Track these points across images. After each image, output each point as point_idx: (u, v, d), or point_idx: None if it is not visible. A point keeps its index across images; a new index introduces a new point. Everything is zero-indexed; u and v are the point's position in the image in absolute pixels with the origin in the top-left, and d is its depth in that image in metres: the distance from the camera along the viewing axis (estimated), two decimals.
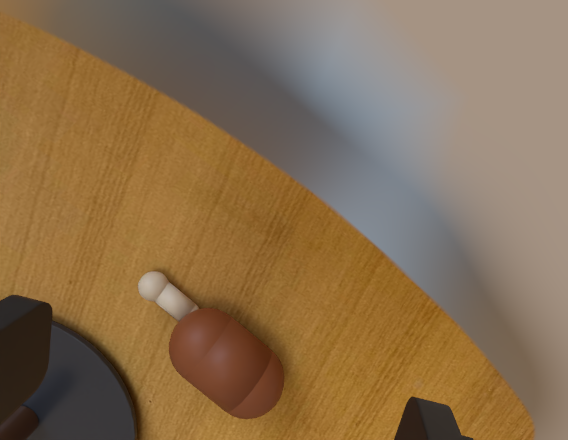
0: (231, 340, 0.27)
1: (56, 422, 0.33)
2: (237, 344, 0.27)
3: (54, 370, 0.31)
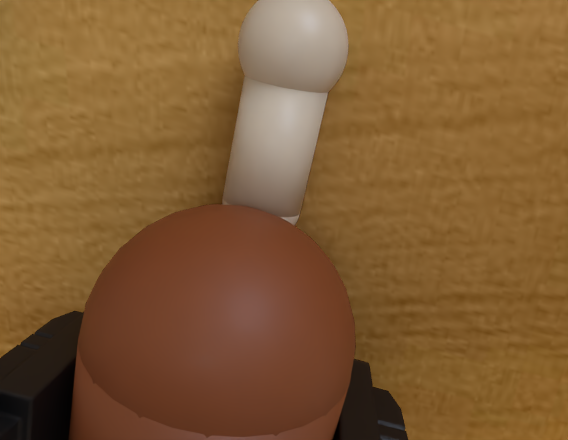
0: None
1: None
2: None
3: None
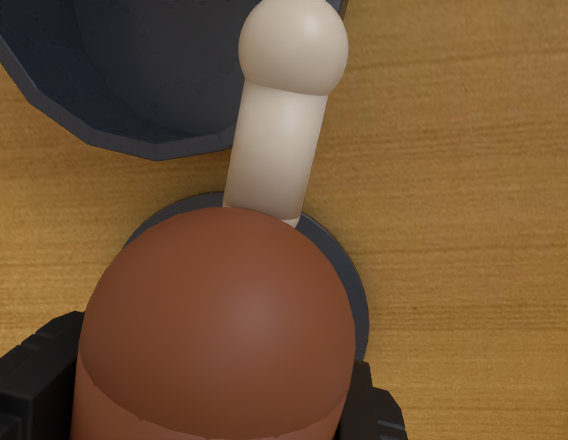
0: None
1: None
2: None
3: None
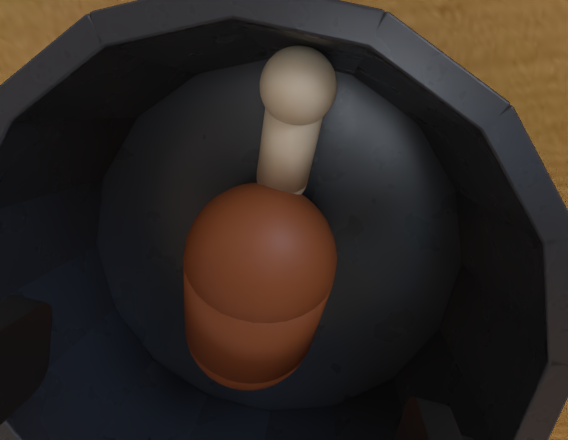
0: (314, 318, 0.13)
1: None
2: (312, 326, 0.13)
3: None
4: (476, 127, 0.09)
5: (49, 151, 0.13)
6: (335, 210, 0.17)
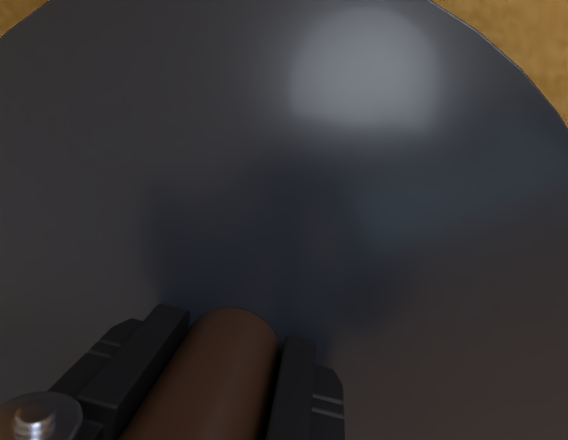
0: None
1: None
2: None
3: (456, 386, 0.10)
4: None
5: None
6: None
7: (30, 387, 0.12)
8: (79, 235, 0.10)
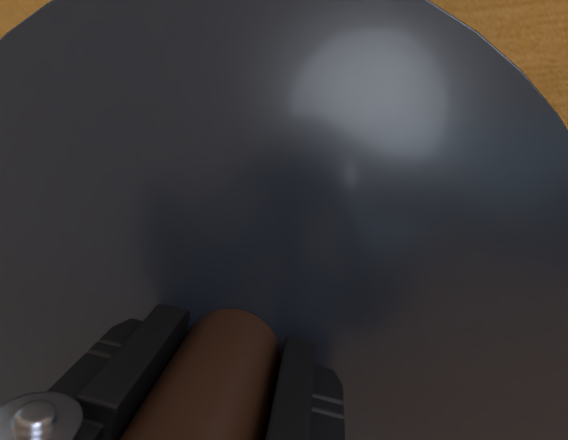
0: None
1: None
2: None
3: (456, 387, 0.10)
4: None
5: None
6: None
7: (30, 388, 0.12)
8: (80, 236, 0.10)
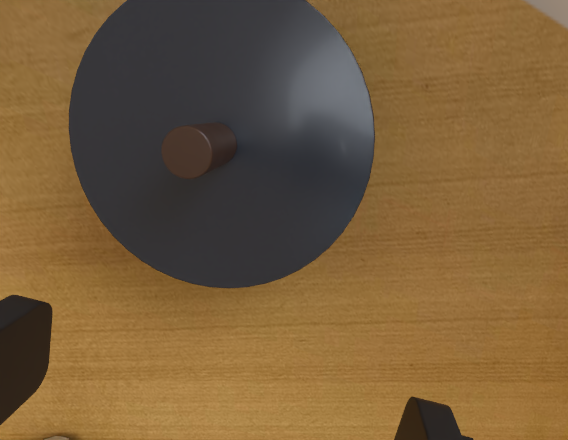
0: None
1: (237, 185, 0.25)
2: None
3: (310, 155, 0.24)
4: None
5: None
6: None
7: (124, 168, 0.25)
8: (150, 91, 0.24)
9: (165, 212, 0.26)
